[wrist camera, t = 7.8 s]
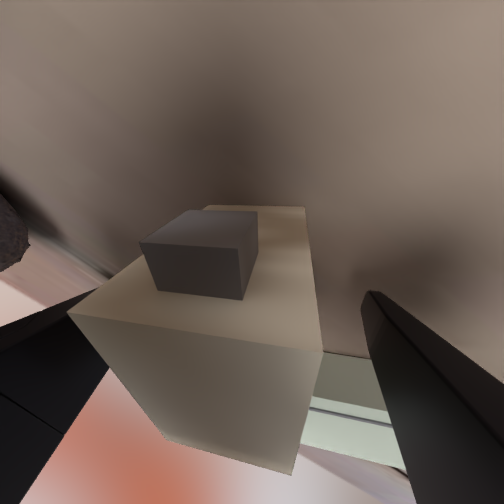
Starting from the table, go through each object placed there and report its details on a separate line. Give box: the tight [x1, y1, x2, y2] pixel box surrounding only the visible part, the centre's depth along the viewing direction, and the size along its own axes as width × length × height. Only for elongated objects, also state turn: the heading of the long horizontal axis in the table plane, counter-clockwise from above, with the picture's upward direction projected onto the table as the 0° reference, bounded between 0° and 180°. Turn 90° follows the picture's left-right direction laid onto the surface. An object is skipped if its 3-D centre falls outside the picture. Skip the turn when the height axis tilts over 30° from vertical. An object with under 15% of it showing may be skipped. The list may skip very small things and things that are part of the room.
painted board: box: [300, 352, 406, 470], centre depth 12 cm, size 16×7×3 cm, turn 92°
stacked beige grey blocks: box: [67, 205, 323, 475], centre depth 7 cm, size 4×8×6 cm, turn 2°
